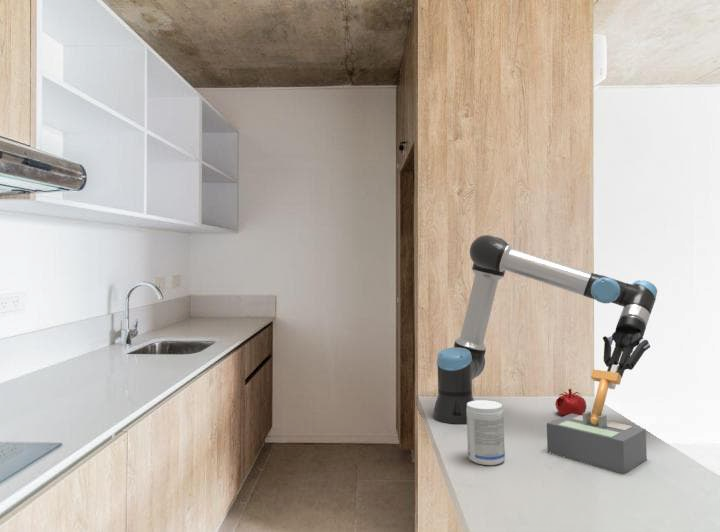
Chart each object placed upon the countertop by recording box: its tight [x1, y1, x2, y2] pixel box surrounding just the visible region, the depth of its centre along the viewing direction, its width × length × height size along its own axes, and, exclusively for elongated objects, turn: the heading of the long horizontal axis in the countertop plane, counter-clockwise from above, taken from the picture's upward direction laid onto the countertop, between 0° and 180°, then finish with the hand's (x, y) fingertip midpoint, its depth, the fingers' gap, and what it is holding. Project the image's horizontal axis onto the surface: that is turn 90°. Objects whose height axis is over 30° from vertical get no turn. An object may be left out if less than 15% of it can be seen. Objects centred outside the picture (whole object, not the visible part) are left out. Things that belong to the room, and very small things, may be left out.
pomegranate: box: [555, 388, 587, 417], centre depth 167 cm, size 10×10×9 cm
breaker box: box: [546, 410, 648, 475], centre depth 129 cm, size 20×14×11 cm
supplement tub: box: [466, 399, 506, 466], centre depth 127 cm, size 10×10×15 cm
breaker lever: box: [590, 369, 622, 425], centre depth 131 cm, size 7×2×16 cm
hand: (610, 386), depth 135 cm, fingers closed
